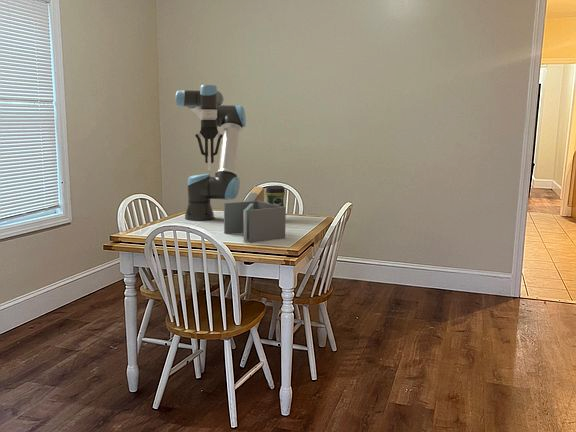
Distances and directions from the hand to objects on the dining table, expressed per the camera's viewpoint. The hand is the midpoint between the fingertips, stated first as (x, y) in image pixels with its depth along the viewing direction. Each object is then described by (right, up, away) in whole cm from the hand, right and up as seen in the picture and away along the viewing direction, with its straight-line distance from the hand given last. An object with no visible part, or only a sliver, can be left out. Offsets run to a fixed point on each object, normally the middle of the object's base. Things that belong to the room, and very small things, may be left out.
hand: (209, 170), depth 260 cm
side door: (+19, -31, -14) cm, 39 cm away
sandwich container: (+15, -21, +49) cm, 56 cm away
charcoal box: (+22, -31, -10) cm, 39 cm away
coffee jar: (+30, -24, +30) cm, 49 cm away
